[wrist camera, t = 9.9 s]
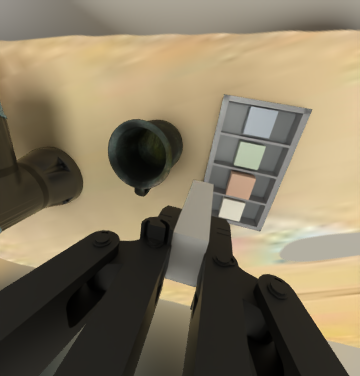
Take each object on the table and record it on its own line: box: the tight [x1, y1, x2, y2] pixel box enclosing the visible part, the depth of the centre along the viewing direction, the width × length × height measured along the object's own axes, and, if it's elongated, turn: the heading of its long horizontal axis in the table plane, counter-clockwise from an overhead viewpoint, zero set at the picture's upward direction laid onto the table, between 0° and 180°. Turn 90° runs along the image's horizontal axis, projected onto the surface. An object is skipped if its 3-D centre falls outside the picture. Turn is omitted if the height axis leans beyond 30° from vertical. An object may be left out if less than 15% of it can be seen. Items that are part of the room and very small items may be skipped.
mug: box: [108, 119, 182, 197], centre depth 35 cm, size 11×15×12 cm
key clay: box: [226, 170, 256, 200], centre depth 36 cm, size 4×4×2 cm
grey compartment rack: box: [204, 94, 312, 231], centre depth 36 cm, size 14×24×4 cm, turn 170°
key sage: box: [233, 140, 266, 170], centre depth 34 cm, size 4×4×2 cm
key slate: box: [242, 107, 279, 139], centre depth 32 cm, size 4×4×2 cm
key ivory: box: [219, 196, 246, 222], centre depth 39 cm, size 4×4×2 cm
